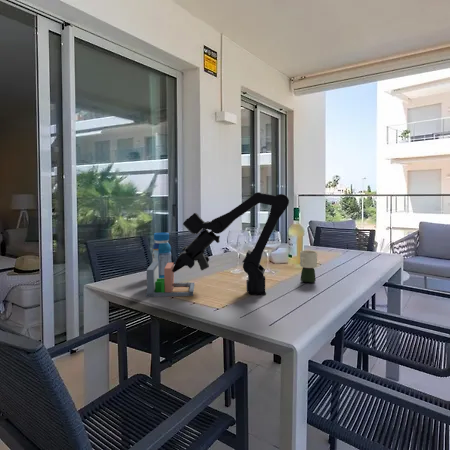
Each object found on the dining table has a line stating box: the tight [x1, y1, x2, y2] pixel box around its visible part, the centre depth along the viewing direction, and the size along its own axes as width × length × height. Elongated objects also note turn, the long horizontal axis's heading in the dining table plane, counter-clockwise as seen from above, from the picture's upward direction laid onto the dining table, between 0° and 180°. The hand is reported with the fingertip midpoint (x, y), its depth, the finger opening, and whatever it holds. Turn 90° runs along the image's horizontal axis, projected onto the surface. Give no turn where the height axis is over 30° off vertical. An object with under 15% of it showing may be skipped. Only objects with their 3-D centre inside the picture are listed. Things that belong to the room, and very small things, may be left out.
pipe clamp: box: [155, 279, 165, 293], centre depth 139 cm, size 11×4×5 cm, turn 3°
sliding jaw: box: [164, 262, 191, 292], centre depth 140 cm, size 9×11×10 cm
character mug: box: [299, 250, 318, 283], centre depth 153 cm, size 11×7×13 cm, turn 133°
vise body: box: [145, 261, 195, 297], centre depth 140 cm, size 17×15×10 cm
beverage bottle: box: [151, 232, 172, 279], centre depth 160 cm, size 8×8×20 cm
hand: (173, 271), depth 140 cm, fingers closed, pressing on sliding jaw
